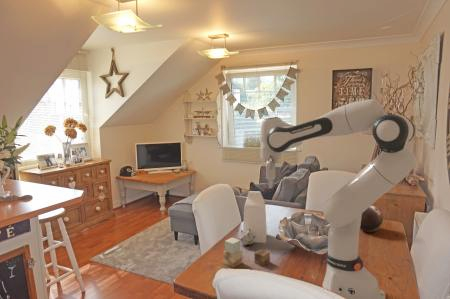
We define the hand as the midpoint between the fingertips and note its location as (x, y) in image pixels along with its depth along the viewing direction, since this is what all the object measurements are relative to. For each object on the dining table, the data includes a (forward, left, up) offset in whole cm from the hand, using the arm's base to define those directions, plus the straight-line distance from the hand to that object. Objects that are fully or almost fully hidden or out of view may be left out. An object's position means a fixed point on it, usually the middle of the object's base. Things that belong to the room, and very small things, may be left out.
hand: (270, 185), depth 142 cm
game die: (+20, -8, -37) cm, 43 cm away
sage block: (+13, +11, -31) cm, 35 cm away
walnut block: (+3, +2, -37) cm, 37 cm away
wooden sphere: (-21, -66, -37) cm, 78 cm away
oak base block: (+13, +11, -37) cm, 41 cm away
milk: (+22, -18, -37) cm, 46 cm away
